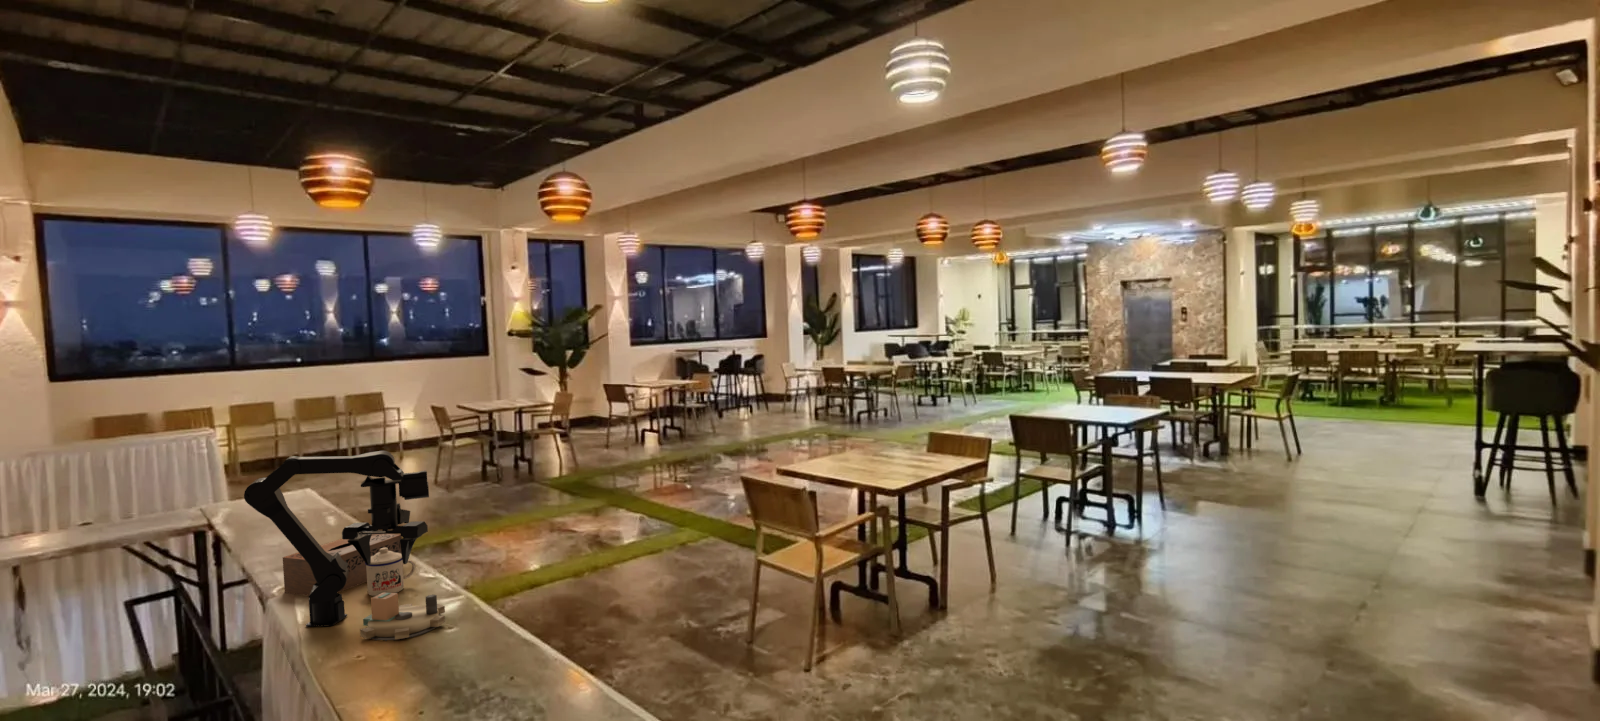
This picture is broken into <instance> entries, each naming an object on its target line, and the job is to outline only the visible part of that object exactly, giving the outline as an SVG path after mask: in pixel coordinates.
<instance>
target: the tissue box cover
mask: <svg viewBox="0 0 1600 721" xmlns="http://www.w3.org/2000/svg"><path fill="white" fill-rule="evenodd" d="M402 538H403V537H402V536H401V534H372V535H371V539H370V553H371V556H374V555H375V554H376V553H378V552H380V549H381V548H388V551H392V552H395V553H400V554H402V553H401V545H400V539H402ZM347 540H349V539H342V538H339V539H336V540H333V541H330V542H327V543H324V544H321V545H320V544H319V545H320V546H321V547H322V548H323V549H324V551H326V552H327V553H329V554H330V555H332V556H333V555H335V554H336V553H337V552H338V553H339V554H340V556H341V558H342V559H343V560H344V561H345V562H346V563H348V566H347V568H348V571H349V574H348V578H347V581H346V584H345V586H344V587H343V588H342V589H341V590H340V591H341V592H343V590H344V591H346V590H348V588H349V589H351V588H354V587H356V586H358V585H361V584H364V583H367V571H366V564H365V562H364V560H363V558H362V557H361V555H360V554H359V552H358V551H357V550H356V548H355V547H354V546H353V545H352V544H351V543H348V541H347ZM282 568H283V570H282V571H283V584H284V586H283V587H284V593H285V594H291V595H300V596H307V597H309V594H310V592H311V590H312V587H313V585H314V584H315V583H316V580H315V578H314V576H313V573H312V570H311V568H310V565H309V564H308V563H307V561H306V560H305V559H304V558H303V557H302V555H301V554H300V553H299V552H298V551H297V552H295V553H292V554H289V555H286V556H283V557H282ZM345 589H346V590H345ZM340 591H338V592H339V593H341V592H340Z"/></svg>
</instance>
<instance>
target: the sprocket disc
mask: <svg viewBox="0 0 1600 721" xmlns="http://www.w3.org/2000/svg"><path fill="white" fill-rule="evenodd" d="M437 597H438V596H437V594H428V595H426V596H425V605H413V603H406V604H401V605H399V604H398V605H399V614H397V615H396V616H394V617H392V618H390V619H388V620H376V619H372V613H370V614H369V615H368V616H366V617H364V618H363V619H362V622H363V623H362V625H363V626H365V627H363V628H360V629H359V634H360V637H361V638H364V639H365V640H369V638H371V637H374V636H378V637H395V640H394V641H397V640H396V639H401V638H407V637H409V634H412V633H416V632H419V631H422V630H424V629H427V628H429V627H436V628H439V627H440V626H442V625H443V624H445V623H446V621H445V620H446V619H445V615H442V614H444V613H446V609H445V608H446V607H445V605H443V604H440V603H438V598H437ZM407 639H408V638H407ZM401 640H402V639H401Z"/></svg>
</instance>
